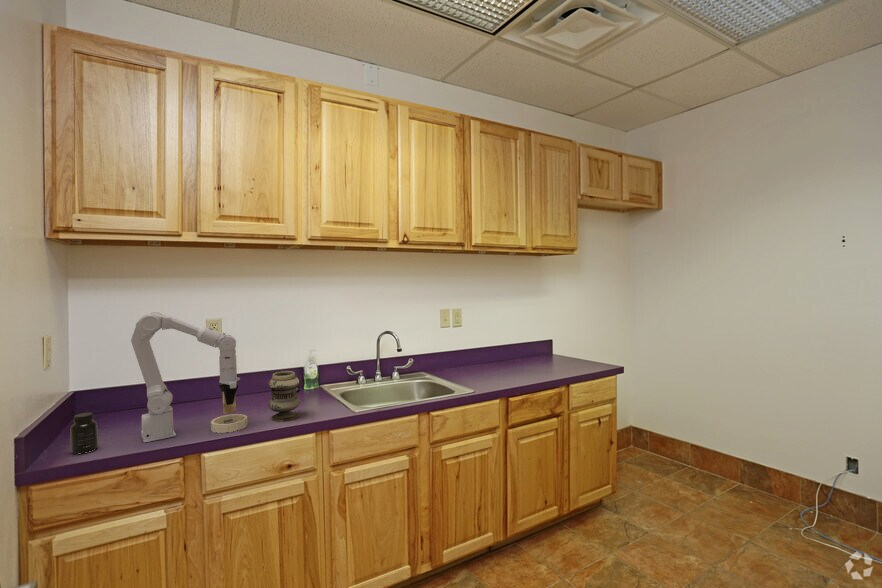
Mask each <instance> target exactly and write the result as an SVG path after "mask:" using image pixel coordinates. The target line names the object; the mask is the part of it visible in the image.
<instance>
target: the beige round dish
mask: <svg viewBox="0 0 882 588" xmlns="http://www.w3.org/2000/svg"><path fill="white" fill-rule="evenodd" d="M248 425H249V422H248V416H247V415H246V414H240V413H235V414H233V413H230V414H224V415H221V416H218V417H216V418H213V419H212V420H210V430H211V431H212V433H216V432H217V434H222V433H223V434H227V433H226V432H229V433H232V432H233V431H234V432H237V430H238V431H241V430H243V429H245V428H246V427H248ZM242 428H243V429H242ZM240 429H241V430H240ZM234 432H233V433H234Z"/></svg>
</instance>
